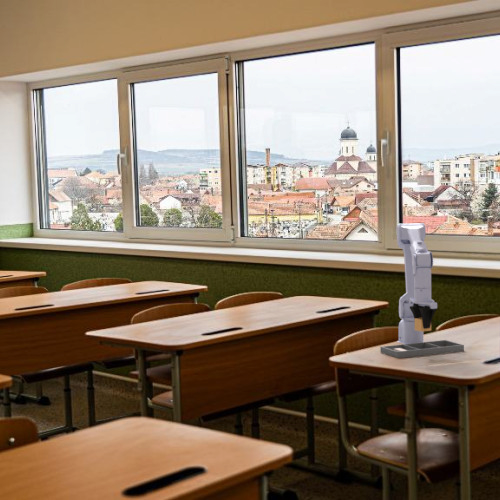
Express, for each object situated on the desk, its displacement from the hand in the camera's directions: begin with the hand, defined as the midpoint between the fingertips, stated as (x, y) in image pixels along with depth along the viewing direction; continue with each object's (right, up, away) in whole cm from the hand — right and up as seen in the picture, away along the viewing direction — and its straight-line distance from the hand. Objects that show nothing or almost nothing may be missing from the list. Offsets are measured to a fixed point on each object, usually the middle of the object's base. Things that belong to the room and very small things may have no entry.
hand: (423, 327), depth 311 cm
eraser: (-8, -9, +1) cm, 12 cm away
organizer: (0, -9, +4) cm, 10 cm away
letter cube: (0, -1, 0) cm, 1 cm away
